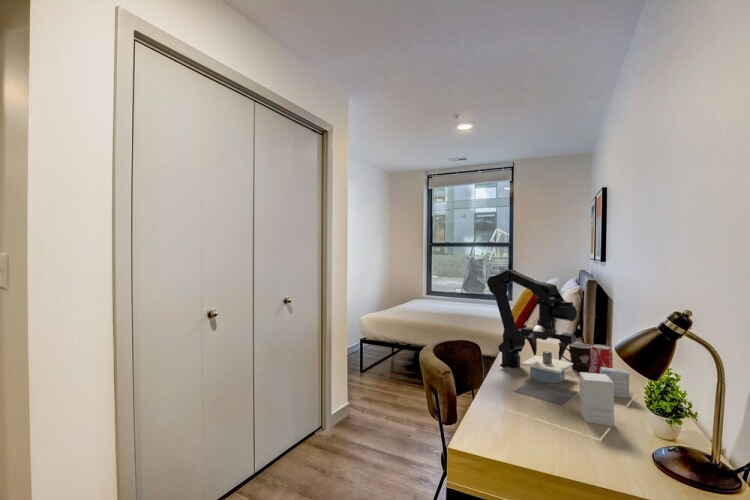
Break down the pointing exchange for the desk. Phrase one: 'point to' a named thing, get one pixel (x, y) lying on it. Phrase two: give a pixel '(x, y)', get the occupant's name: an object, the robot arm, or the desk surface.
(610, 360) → the soda can
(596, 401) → the supplement box
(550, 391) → the mat
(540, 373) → the bowl
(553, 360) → the lid
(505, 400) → the desk surface
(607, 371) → the medicine box
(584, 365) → the coffee mug
